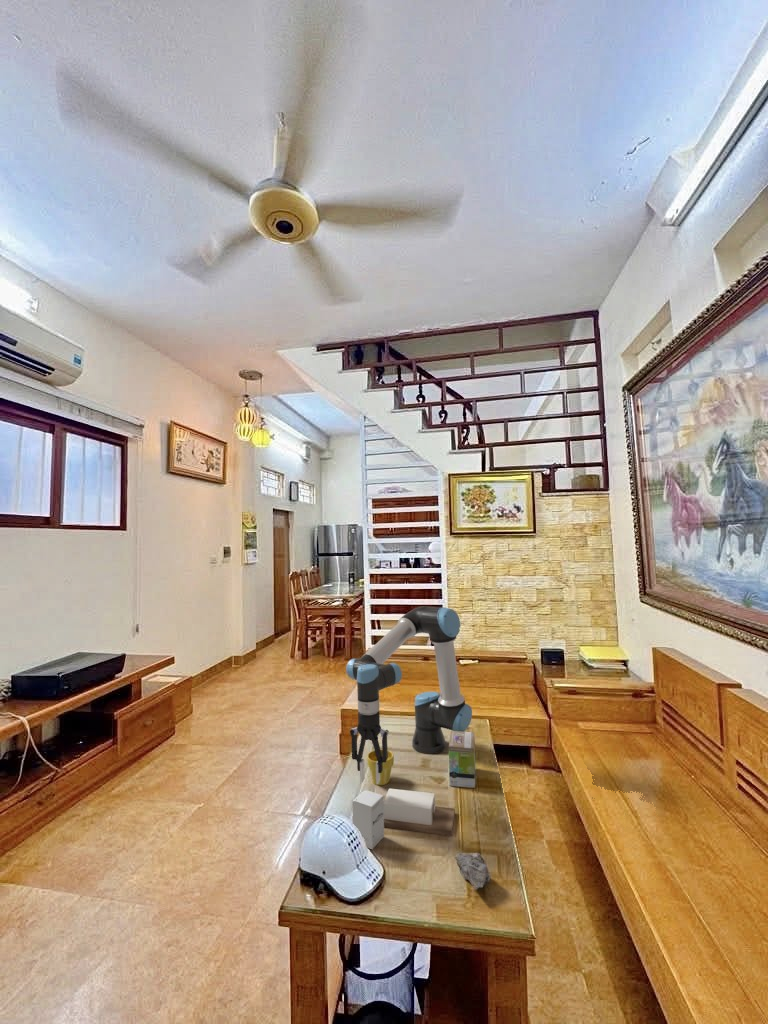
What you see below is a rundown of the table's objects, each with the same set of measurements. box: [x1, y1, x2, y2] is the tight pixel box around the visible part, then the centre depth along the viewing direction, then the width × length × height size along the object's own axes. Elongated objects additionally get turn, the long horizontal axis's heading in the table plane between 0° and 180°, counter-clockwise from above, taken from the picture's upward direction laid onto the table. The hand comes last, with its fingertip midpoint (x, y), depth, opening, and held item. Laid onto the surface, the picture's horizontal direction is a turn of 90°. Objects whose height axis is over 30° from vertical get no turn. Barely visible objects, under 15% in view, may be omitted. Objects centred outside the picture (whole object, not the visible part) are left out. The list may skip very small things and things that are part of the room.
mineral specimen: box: [454, 852, 491, 891], centre depth 118 cm, size 10×8×10 cm
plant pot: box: [366, 748, 395, 786], centre depth 171 cm, size 10×10×10 cm
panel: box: [383, 788, 436, 825], centre depth 147 cm, size 9×16×5 cm, turn 76°
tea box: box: [448, 730, 476, 789], centre depth 172 cm, size 15×10×15 cm, turn 168°
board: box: [384, 805, 456, 837], centre depth 146 cm, size 12×24×4 cm, turn 76°
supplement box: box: [351, 789, 385, 850], centre depth 137 cm, size 7×7×13 cm
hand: (370, 780), depth 151 cm, fingers open, 5 cm apart
